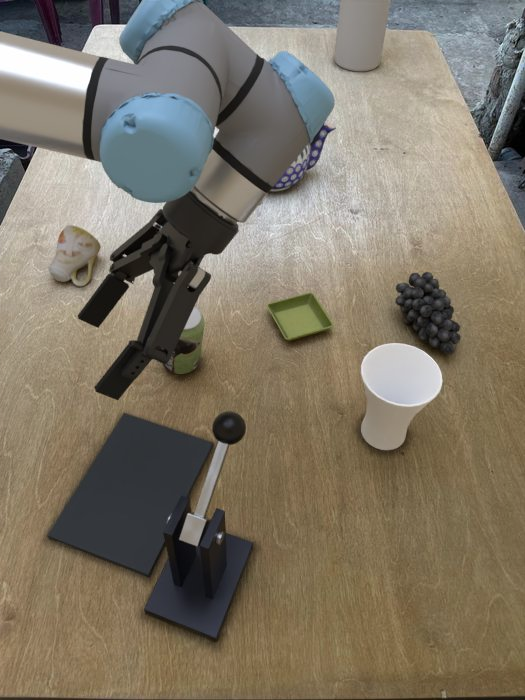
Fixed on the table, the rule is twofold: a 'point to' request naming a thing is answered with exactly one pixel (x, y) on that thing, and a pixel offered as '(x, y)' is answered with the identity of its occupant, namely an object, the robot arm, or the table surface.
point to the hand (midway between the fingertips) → (96, 355)
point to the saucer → (299, 316)
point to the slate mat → (131, 493)
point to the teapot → (304, 159)
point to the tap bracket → (198, 575)
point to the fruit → (429, 311)
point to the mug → (74, 254)
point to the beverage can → (188, 345)
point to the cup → (396, 391)
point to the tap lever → (213, 475)
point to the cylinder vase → (361, 33)
